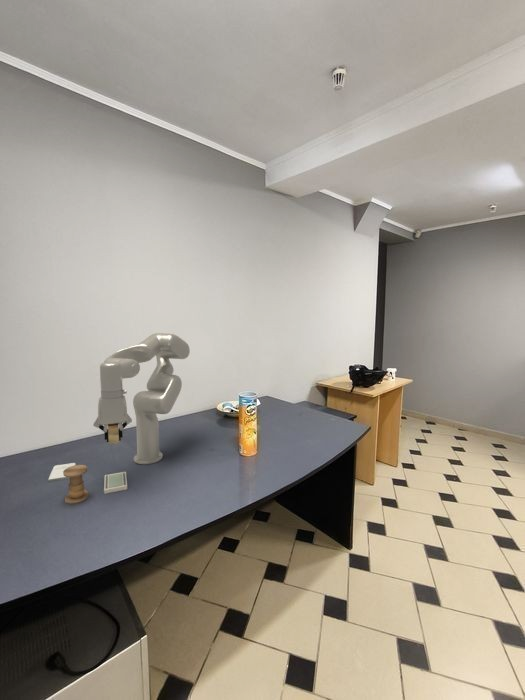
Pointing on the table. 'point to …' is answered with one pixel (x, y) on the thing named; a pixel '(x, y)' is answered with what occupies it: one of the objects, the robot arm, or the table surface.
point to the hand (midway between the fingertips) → (113, 439)
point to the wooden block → (113, 433)
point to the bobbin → (76, 484)
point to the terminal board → (115, 482)
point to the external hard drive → (59, 472)
